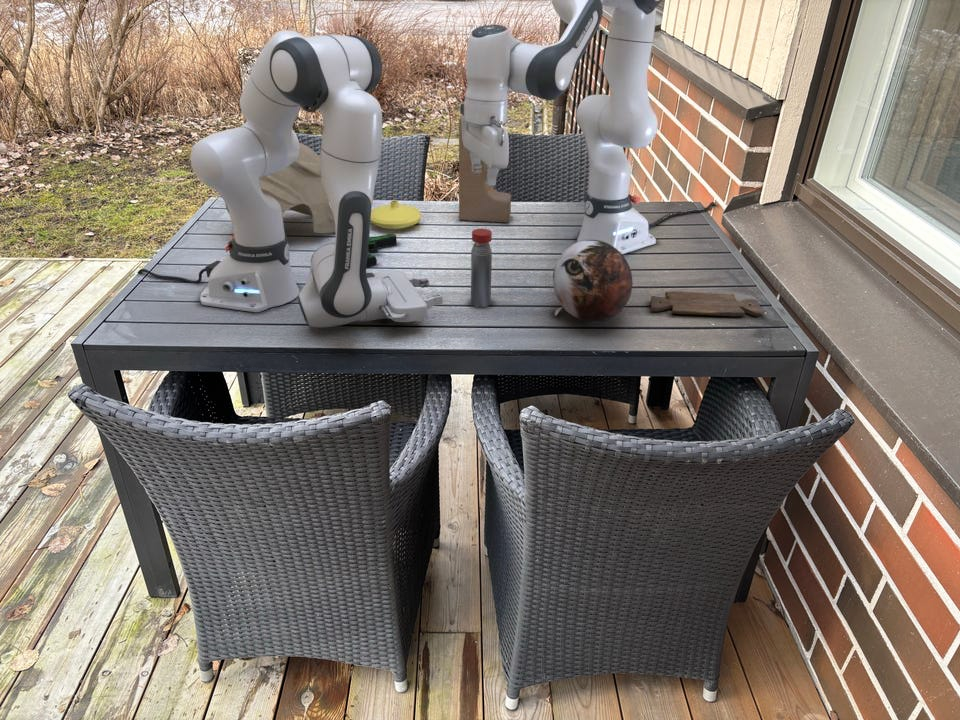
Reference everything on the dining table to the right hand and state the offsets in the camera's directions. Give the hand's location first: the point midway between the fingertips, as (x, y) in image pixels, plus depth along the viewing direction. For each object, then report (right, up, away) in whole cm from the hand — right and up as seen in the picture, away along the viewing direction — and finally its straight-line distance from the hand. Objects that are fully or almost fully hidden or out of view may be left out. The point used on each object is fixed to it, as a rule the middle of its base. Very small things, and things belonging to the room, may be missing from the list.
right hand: (483, 178), depth 154 cm
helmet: (-57, -3, +51) cm, 77 cm away
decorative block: (+1, +4, +64) cm, 64 cm away
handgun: (-29, -11, +38) cm, 49 cm away
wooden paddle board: (+52, -27, +13) cm, 60 cm away
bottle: (-1, -26, +14) cm, 29 cm away
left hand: (-11, -23, +7) cm, 27 cm away
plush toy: (+24, -29, +9) cm, 39 cm away
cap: (0, -11, +5) cm, 12 cm away
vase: (-26, +1, +58) cm, 63 cm away
